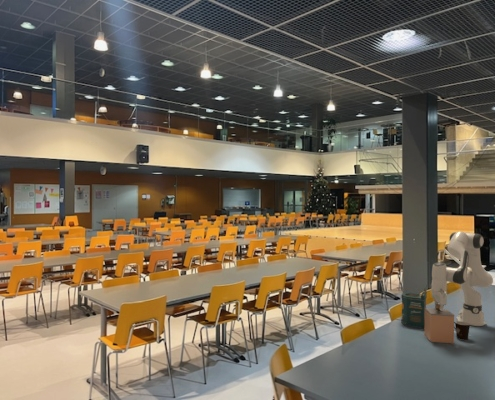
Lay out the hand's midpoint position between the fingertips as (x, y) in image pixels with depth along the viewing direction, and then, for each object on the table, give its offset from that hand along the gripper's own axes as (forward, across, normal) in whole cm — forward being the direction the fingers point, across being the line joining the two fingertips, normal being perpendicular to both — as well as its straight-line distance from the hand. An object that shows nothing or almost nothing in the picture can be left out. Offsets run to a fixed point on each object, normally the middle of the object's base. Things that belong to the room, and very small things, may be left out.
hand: (438, 308), depth 251 cm
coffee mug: (+20, +6, -16) cm, 26 cm away
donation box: (+20, +32, +8) cm, 39 cm away
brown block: (+20, 0, 0) cm, 20 cm away
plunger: (+15, 0, 0) cm, 15 cm away
